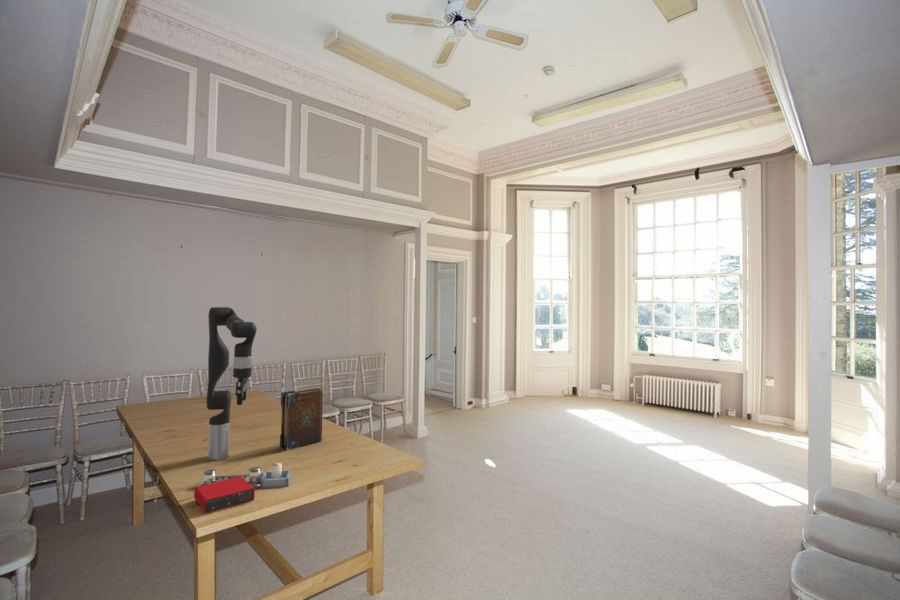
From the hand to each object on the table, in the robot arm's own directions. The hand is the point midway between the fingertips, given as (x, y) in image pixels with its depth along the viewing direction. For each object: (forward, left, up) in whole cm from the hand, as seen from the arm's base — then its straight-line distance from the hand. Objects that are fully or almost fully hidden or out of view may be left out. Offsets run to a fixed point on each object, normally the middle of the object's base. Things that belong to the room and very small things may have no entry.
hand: (241, 402), depth 201 cm
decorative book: (-43, +24, -33) cm, 60 cm away
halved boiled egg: (+10, +17, -32) cm, 38 cm away
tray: (+10, +17, -33) cm, 38 cm away
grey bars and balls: (+10, -1, -33) cm, 34 cm away
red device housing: (+25, 0, -33) cm, 42 cm away
